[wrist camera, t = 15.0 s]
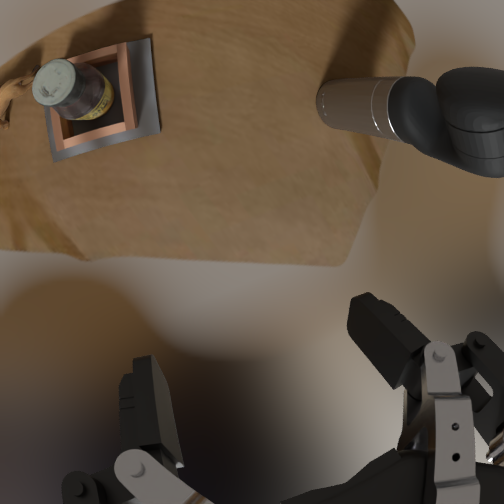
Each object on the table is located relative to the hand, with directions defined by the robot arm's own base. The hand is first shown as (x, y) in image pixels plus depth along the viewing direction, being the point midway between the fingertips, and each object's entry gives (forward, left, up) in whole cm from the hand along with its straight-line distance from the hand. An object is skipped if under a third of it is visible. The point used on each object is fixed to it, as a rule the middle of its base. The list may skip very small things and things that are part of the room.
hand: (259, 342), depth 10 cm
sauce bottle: (+11, -13, -35) cm, 39 cm away
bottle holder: (+11, -13, -36) cm, 40 cm away
